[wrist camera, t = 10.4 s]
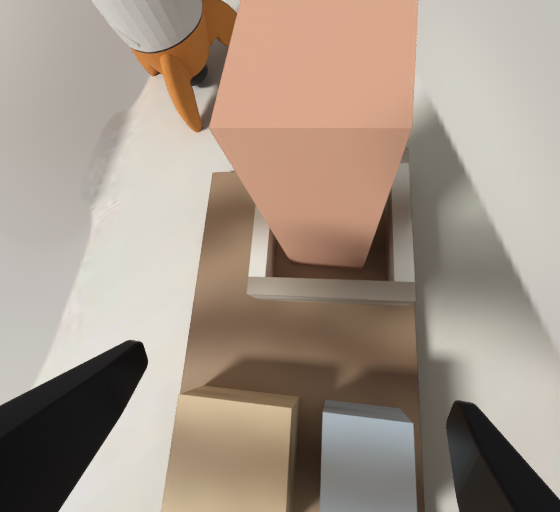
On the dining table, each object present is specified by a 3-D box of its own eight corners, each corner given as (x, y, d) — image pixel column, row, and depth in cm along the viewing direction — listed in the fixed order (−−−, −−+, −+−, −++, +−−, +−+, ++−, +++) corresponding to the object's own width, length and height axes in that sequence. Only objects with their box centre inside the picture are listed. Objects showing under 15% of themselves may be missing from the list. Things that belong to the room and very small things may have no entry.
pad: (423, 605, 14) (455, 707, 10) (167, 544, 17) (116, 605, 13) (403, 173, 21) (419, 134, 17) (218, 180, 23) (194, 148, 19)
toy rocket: (248, 39, 28) (203, -235, 14) (254, 142, 27) (211, -34, 12) (144, 48, 29) (-12, -211, 14) (146, 150, 28) (-24, -12, 13)
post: (362, 270, 18) (412, 127, 6) (291, 263, 19) (209, 127, 7) (367, 204, 19) (419, -32, 7) (300, 201, 20) (243, -12, 8)
